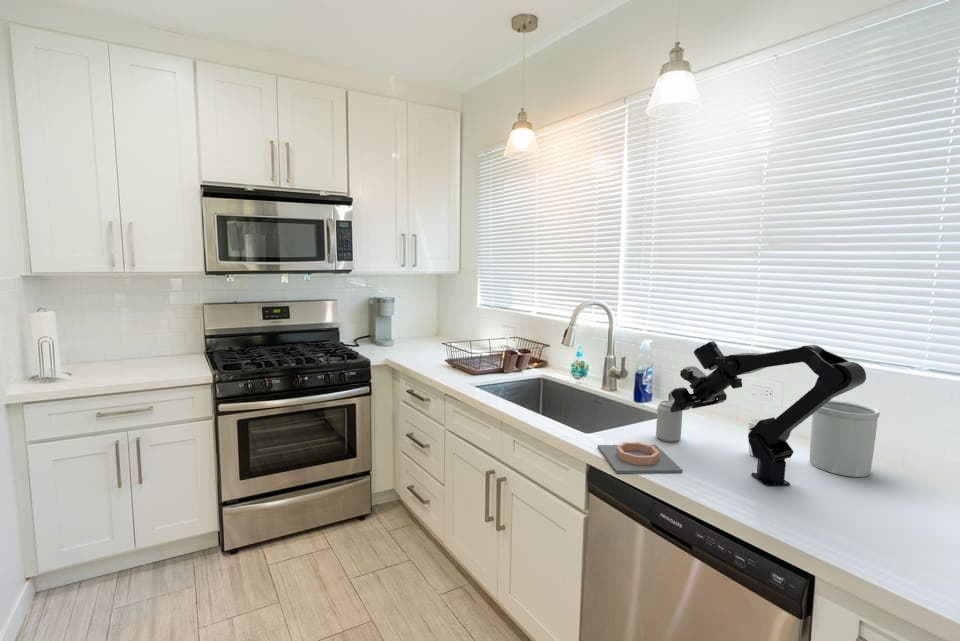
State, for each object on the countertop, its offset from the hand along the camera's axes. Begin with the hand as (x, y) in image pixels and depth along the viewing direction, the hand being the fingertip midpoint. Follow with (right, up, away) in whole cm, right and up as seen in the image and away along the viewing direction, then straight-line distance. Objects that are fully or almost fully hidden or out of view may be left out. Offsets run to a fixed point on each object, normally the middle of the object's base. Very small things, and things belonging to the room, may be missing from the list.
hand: (681, 409), depth 149 cm
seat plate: (-17, -12, -11) cm, 24 cm away
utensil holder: (+38, -14, -15) cm, 43 cm away
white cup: (+20, -13, -8) cm, 25 cm away
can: (-2, -11, +5) cm, 12 cm away
